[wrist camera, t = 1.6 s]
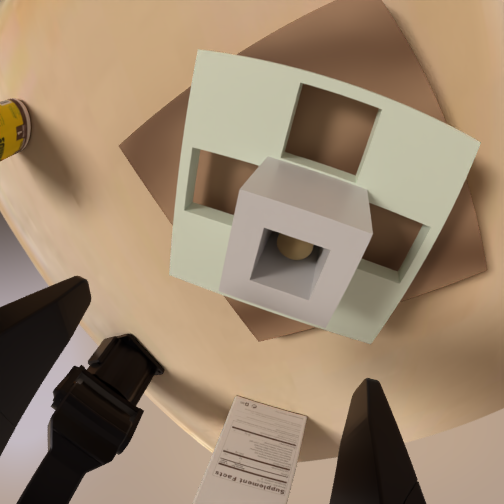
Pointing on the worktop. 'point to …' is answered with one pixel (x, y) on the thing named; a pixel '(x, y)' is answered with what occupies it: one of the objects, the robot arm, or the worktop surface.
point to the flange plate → (308, 197)
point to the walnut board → (322, 145)
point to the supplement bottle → (13, 127)
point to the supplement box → (253, 456)
